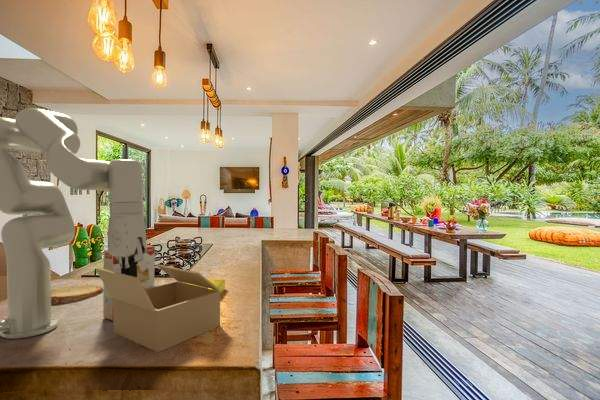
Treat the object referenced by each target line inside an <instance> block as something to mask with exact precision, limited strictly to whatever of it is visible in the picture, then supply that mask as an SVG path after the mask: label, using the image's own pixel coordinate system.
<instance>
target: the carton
mask: <svg viewBox="0 0 600 400" xmlns="http://www.w3.org/2000/svg"><path fill="white" fill-rule="evenodd" d="M145 291H146V293H147V295H148V297H149V299H150V301H151V302H152V304H153V306H154V308H155V310H156V311H155V312H153V311H150V310H147V309H144V308H141V307H138V306H135V305H132V304H129V303H126V302H123V301H120V300H117V299H114V298H113V306H114V321H113V334H115V335H117V336H120V337H123V339H126V340H128V341H131V342H133V343H135V344H137V345H140V346H142V347H145V348H146V349H149V350H151V351H153V350H154V351H153V352H156V353H159V352H161V351H164V350H166V349H169V348H171V347H173V346H176V345H179V344H181V343H183V342H186V341H189V340H190V339H193V338H195V337H197V336H199V335H202V334H204V333H206V332H209V331H211V330H213V329H216V328H218V327H220V326H221V295H220V291H216V290H212V289H208V288H204V287H200V286H195V285H191V284H187V283H184V282H180V281H177V280H174V281H171V282H167V283H163V284H159V285H154V287H150V288H146V289H145Z"/></svg>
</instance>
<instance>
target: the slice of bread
mask: <svg viewBox="0 0 600 400" xmlns="http://www.w3.org/2000/svg"><path fill="white" fill-rule="evenodd" d="M102 293H103V286H102V285H100V284H84V285H76V286H70V287H69V286H68V287H61V288H56V289H51V306H52V305H53V306H54V305H62V304H68V303H73V302H74V303H75V302H78V301H82V300H86V299H90V298H93V297H95V296H98V295H100V294H102Z"/></svg>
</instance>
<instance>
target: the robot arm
mask: <svg viewBox="0 0 600 400" xmlns="http://www.w3.org/2000/svg"><path fill="white" fill-rule="evenodd" d="M78 131H79V129H78V126H77V123H76V122H75V120H74V119H73V118H72V117H70V116H68V115H66V114H64V113H60V112H55V111H51V110H46V109H42V108H38V107H37V108H36V107H29V108H28V107H27V108H24V109H21V110H20V111H19V112H17V114H16V116H15V117H14V118H9V117H3V116H0V211H1V212H2V213H3V214H6V215H10V216H12V215H14V216H15V215H25V216H19V217H14V218H12V219H10V220H8V221H7V222H5V224H3V225H2V228H1V232H0V235H1V237H0V238H1V243H2V245H3V249H4V253H5V261H6V280H7V281H6V285H7V286H6V287H7V288H6V289H7V315H5V316H3V319H2V320H0V336H1V338H4V339H9V340H11V339H16V340H17V339H25V338H29V337H30V338H31V337H35V336H38V335H42V334H45V333H49V332H51V331H52V330H54V329H55V328H57V327H58V325H59V320H58V319H57V318H54V317H52V305H51V290H52V279H51V278H52V277H51V276H52V274H51V269H52V268H51V263H50V259H49V258H48V257H47V255H46V254H45V253H44V252H43V249H44V250H45V249H48V248H54V247H61V246H65V245H68V244H69V243H71V242H72V241H73V240H74V238H75V234H76V226H75V225H76V224H75V222H74V219H73V216H72V214H71V212H70V209H69V207H68V204H67V201H66V198H65V197H64V194H63V192H62V191H61V189H60V188H59V187H58V186H57V185H55V184H54V183H52V182H48V181H38V180H37V181H35V180H31V179H30V178H29V177H28V175H27V173H26V169H25V167H24V165H23V164H22V162H21V161H20V160H19V159H18V158H17V157H16V156H14V155H13V154H12V153H11V152H10V151H8V149H9V150H17V151H25V152H43V153H45V162H46V165H47V168H48V170H49V171H50V173H51V174H52V175H53V176H54V178H57V179H58V180H59V181H60V182H62V184H63V185H66V186H67V187H69V188H71V189H74V190H76V191H108V198H109V199H108V200H109V202H108V203H109V218H108V224H107V225H108V227H107V250H108V253H109V254H111V255H114V256H115V258H117V259H118V260H119V264H120V267H121V274H125V275H129V276H133V277H137V266H138V262H139V261H141V260H143V254H144V253H145V252H146V248H147V232H146V224H145V223H146V222H145V219H144V192H143V191H144V190H143V189H144V188H143V165H142V163H141V162H140V161H138V160H137V159H123V158H122V159H114V160H111V161H107V160H99V159H98V160H97V159H89V158H81V157H79V156H78V155H77V153H78V152H79V150H80V147H81V139H80V137H79V136H78V133H79V132H78ZM36 214H37V215H36ZM38 214H39V215H38ZM122 267H123V268H122Z"/></svg>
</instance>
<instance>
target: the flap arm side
mask: <svg viewBox="0 0 600 400" xmlns="http://www.w3.org/2000/svg"><path fill="white" fill-rule="evenodd" d="M95 271H96V273H97V274H98V276H99V277H100V280H101V282H102V283H104V284H105V286H106V288H107V290H108V291H109V293H110V295H111V296H112V298H114V299H117V300H120V301H123V302H126V303H129V304H132V305H135V306H138V307H141V308H144V309H147V310H150V311H153V312H155V311H156V310H155V308H154V306H153V304H152V302H151V301H150V299H149V297H148V295H147V293H146V291H145V289H144V287H143V285H142V284H141V282H140V280H139V278H137V277H133V276H129V275H125V274H121V273H117V272H113V271H109V270H105V269H104V268H101V267H95Z"/></svg>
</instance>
